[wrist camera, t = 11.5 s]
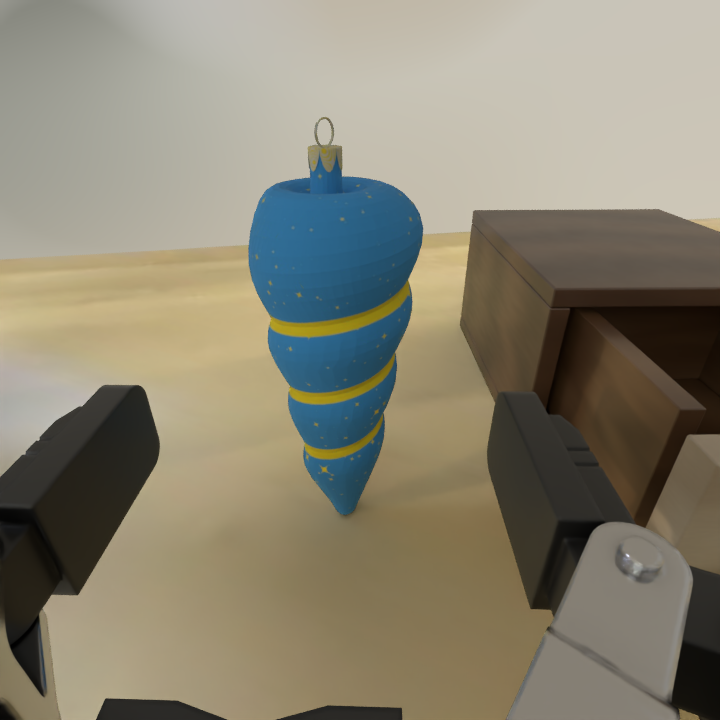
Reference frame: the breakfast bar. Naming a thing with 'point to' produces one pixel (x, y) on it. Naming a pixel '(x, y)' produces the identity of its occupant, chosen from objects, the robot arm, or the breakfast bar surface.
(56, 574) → the robot arm
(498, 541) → the breakfast bar surface
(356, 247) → the ornament
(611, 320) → the drawer
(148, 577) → the breakfast bar surface
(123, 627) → the breakfast bar surface
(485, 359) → the cabinet
